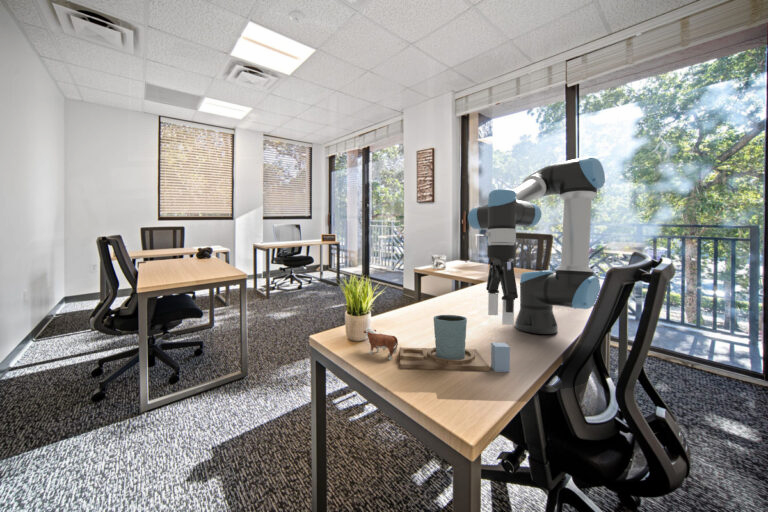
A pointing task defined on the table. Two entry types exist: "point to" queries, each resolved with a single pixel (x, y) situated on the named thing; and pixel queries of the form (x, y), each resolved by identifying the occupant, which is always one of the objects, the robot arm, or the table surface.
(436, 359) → the jig
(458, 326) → the teal cup
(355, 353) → the table surface
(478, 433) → the table surface
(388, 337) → the bull figurine
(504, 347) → the block
